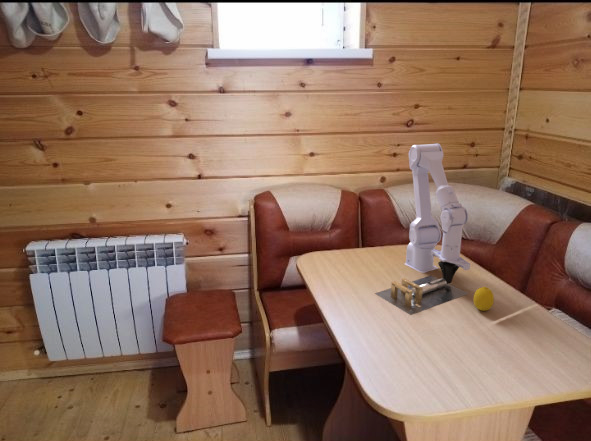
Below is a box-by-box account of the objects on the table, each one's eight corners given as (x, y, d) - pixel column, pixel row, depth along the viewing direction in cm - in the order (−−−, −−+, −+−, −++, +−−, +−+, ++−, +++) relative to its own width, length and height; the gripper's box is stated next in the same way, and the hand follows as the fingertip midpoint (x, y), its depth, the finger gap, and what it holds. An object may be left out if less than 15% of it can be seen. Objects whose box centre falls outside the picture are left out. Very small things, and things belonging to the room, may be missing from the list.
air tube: (416, 298, 148) (417, 289, 147) (410, 294, 150) (411, 286, 149) (446, 287, 154) (447, 279, 153) (439, 284, 156) (440, 276, 155)
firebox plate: (374, 295, 151) (375, 279, 149) (431, 276, 163) (432, 262, 161) (410, 316, 138) (411, 299, 136) (468, 295, 150) (470, 279, 148)
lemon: (470, 313, 139) (473, 288, 137) (473, 305, 144) (476, 281, 141) (491, 317, 137) (494, 292, 134) (493, 309, 141) (496, 285, 139)
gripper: (425, 239, 155) (422, 277, 160) (460, 253, 144) (456, 294, 148) (440, 235, 159) (437, 272, 163) (476, 248, 147) (472, 288, 151)
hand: (447, 282), depth 156 cm, fingers closed
